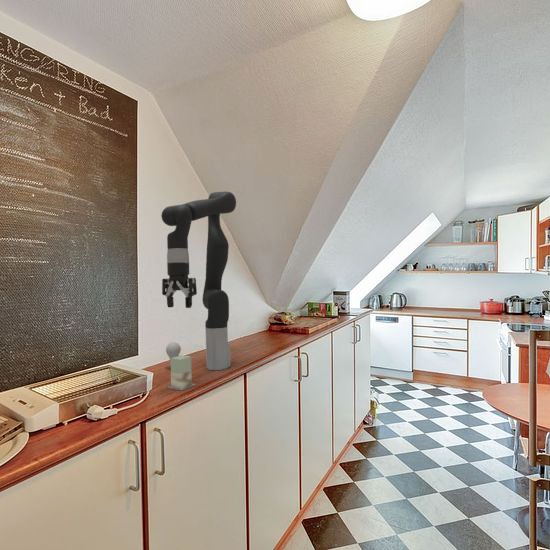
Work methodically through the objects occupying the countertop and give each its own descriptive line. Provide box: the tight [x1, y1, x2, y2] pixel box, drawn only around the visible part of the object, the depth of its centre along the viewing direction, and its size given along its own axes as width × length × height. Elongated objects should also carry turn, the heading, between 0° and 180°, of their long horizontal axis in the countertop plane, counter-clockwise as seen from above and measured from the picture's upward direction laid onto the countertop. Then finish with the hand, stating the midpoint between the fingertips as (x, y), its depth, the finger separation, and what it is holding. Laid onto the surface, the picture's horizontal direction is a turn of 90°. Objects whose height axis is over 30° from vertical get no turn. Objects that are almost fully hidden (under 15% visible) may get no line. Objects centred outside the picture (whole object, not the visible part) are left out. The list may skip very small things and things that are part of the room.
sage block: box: [170, 354, 192, 374], centre depth 125 cm, size 5×5×5 cm
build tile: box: [166, 382, 197, 392], centre depth 125 cm, size 7×7×1 cm
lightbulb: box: [165, 341, 182, 363], centre depth 151 cm, size 6×6×11 cm
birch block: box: [170, 370, 193, 389], centre depth 125 cm, size 5×5×5 cm
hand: (179, 307), depth 125 cm, fingers open, 8 cm apart
